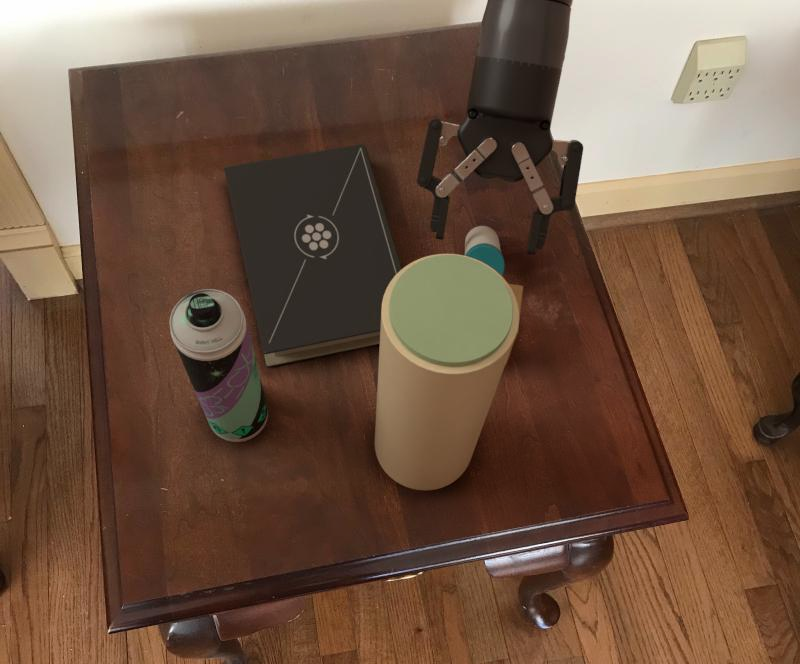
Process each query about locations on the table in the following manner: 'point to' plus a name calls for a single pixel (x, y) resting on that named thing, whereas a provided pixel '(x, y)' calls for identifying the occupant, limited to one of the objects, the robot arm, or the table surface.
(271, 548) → the table surface
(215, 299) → the spray can
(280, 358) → the book
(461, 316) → the pad
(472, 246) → the vial
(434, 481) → the pedestal
